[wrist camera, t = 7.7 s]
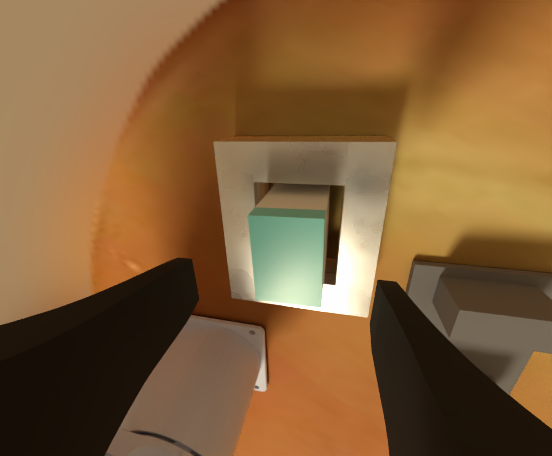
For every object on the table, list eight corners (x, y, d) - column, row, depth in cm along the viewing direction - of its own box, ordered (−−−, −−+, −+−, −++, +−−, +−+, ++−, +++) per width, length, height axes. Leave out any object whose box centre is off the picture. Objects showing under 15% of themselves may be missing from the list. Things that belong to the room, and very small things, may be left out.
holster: (385, 376, 21) (393, 423, 18) (413, 260, 16) (430, 295, 13) (500, 397, 19) (530, 453, 16) (566, 274, 14) (627, 319, 11)
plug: (280, 243, 18) (255, 299, 13) (278, 180, 16) (247, 215, 11) (327, 247, 17) (321, 308, 12) (330, 181, 15) (324, 219, 10)
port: (246, 272, 20) (231, 298, 17) (235, 136, 16) (213, 141, 13) (363, 286, 18) (367, 317, 15) (386, 135, 14) (397, 141, 11)
